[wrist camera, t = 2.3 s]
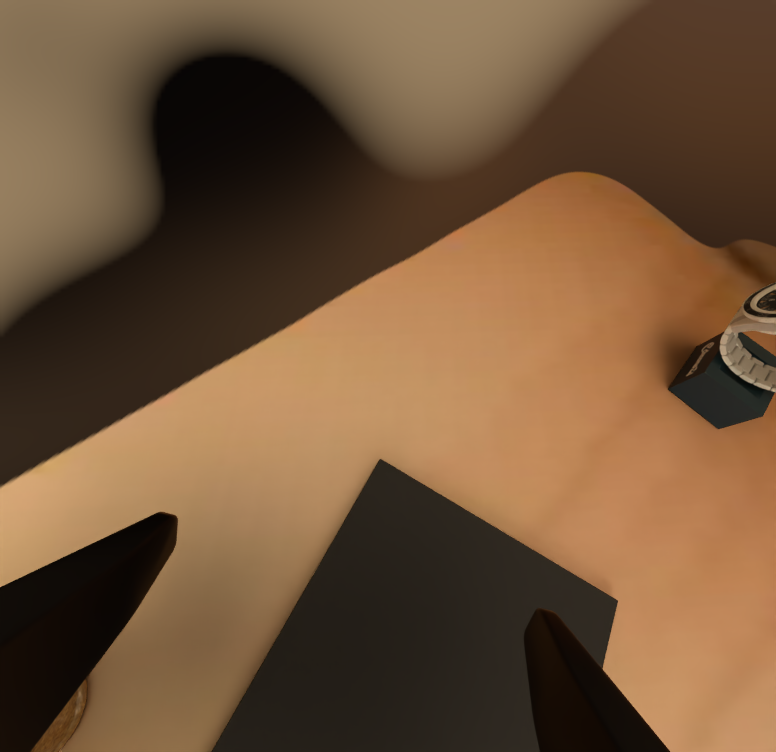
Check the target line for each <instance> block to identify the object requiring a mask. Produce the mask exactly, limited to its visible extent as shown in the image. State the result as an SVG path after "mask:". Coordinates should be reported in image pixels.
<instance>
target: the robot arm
mask: <svg viewBox="0 0 776 752" xmlns="http://www.w3.org/2000/svg"><path fill="white" fill-rule="evenodd" d="M177 526H178V518H177V516H175V515H172V514H168V513H165V512H158V513H156V514H154V515H151V516H149V517H147V518H145V519H143V520H141V521H139V522H137V523H135V524H133V525H130V526H128V527H126V528H124V529H122V530H120V531H118V532H116V533H114V534H111V535H109V536H107V537H105V538H103V539H101V540H99V541H97V542H95V543H93V544H90V545H88V546H86V547H84V548H82V549H80V550H78V551H76V552H74V553H71V554H69V555H67V556H65V557H63V558H61V559H59V560H57V561H55V562H53V563H50V564H48V565H46V566H44V567H42V568H40V569H38V570H36V571H34V572H31V573H29V574H27V575H25V576H23V577H21V578H19V579H17V580H15V581H12V582H10V583H8V584H6V585H4V586H2V587H0V752H31V751H32V749H33V748H34V747H35V745H36V744H37V743H38V742H39V740H40V739H41V738H42V736H43V735H44V734H45V732H46V731H47V730H48V728H49V727H50V726H51V724H52V723H53V722H54V720H55V719H56V718H57V716H58V715H59V714H60V712H61V711H62V710H63V708H64V707H65V706H66V704H67V703H68V702H69V700H70V699H71V698H72V696H73V695H74V694H75V692H76V691H77V690H78V688H79V687H80V686H81V684H82V683H83V682H84V680H85V679H86V678H87V676H88V675H89V674H90V672H91V671H92V670H93V668H94V667H95V666H96V664H97V663H98V662H99V660H100V659H101V658H102V656H103V655H104V654H105V652H106V651H107V650H108V648H109V647H110V646H111V644H112V643H113V642H114V640H115V639H116V638H117V636H118V635H119V634H120V632H121V631H122V630H123V628H124V627H125V626H126V624H127V623H128V622H129V620H130V619H131V617H132V616H133V614H134V613H135V611H136V610H137V608H138V607H139V605H140V604H141V602H142V600H143V599H144V597H145V595H146V594H147V592H148V591H149V589H150V587H151V586H152V584H153V583H154V581H155V579H156V578H157V576H158V575H159V573H160V571H161V570H162V568H163V566H164V565H165V563H166V562H167V560H168V558H169V557H170V555H171V554H172V552H173V550H174V548H175V545H176V541H177ZM524 647H525V656H526V664H527V673H528V681H529V690H530V698H531V706H532V713H533V720H534V725H535V730H536V735H537V740H538V745H539V750H540V752H670V751H669V750H668V748H667V747H666V746H665V745H664V743H663V742H662V741H661V740H660V739H659V737H658V736H657V735H656V734H655V733H654V731H653V730H652V729H651V728H650V726H649V725H648V724H647V723H646V722H645V720H644V719H643V718H642V717H641V715H640V714H639V713H638V712H637V711H636V709H635V708H634V707H633V706H632V705H631V703H630V702H629V701H628V700H627V698H626V697H625V696H624V695H623V694H622V692H621V691H620V690H619V689H618V688H617V686H616V685H615V684H614V683H613V681H612V680H611V679H610V678H609V677H608V675H607V674H606V673H605V672H604V671H603V669H602V668H601V667H600V666H599V664H598V663H597V662H596V661H595V660H594V658H593V657H592V656H591V655H590V653H589V652H588V651H587V650H586V649H585V647H584V646H583V645H582V644H581V643H580V641H579V640H578V639H577V638H576V636H575V635H574V634H573V633H572V632H571V630H570V629H569V628H568V627H567V626H566V624H565V623H564V622H563V621H562V619H561V618H560V617H559V616H558V615H557V614H556V613H555V612H553V611H550V610H546V609H543V608H538V609H536V610H535V612H534V614H533V615H532V617H531V619H530V621H529V623H528V625H527V627H526V629H525V632H524Z"/></svg>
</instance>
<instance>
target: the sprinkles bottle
mask: <svg viewBox="0 0 776 752" xmlns="http://www.w3.org/2000/svg"><path fill="white" fill-rule="evenodd" d="M86 696H87V682H86V680H84V682H83V683H82V684H81V686H80V687H79V688H78V690H77V691H76V692H75V694H74V695H73V696H72V698H71V699H70V700H69V702H68V703H67V704H66V706H65V707H64V708H63V710H62V711H61V712H60V714H59V715H58V716H57V718H56V719H55V720H54V722H53V723H52V724H51V726H50V727H49V728H48V730H47V731H46V732H45V734H44V735H43V736H42V738H41V739H40V740H39V742H38V743H37V744H36V745H35V747H34V748H33V749H32V751H31V752H58V751H59V750H60V749H61V748H62V747H63V746H64V745H65V743H66V742H67V740H68V739H69V738H70V736H71V735H72V734H73V732H74V730H75V728H76V726H77V724H78V723H79V721H80V719H81V715H82V712H83V710H84V707H85V703H86V700H87V699H86Z"/></svg>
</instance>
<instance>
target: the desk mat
mask: <svg viewBox="0 0 776 752" xmlns="http://www.w3.org/2000/svg"><path fill="white" fill-rule="evenodd" d="M617 603H618V601H617V600H616V599H614V598H613V597H611V596H609V595H608V594H606V593H604V592H602V591H601V590H599V589H597V588H596V587H594V586H592V585H591V584H589V583H587V582H586V581H584V580H582V579H581V578H579V577H577V576H576V575H574V574H572V573H571V572H569V571H567V570H566V569H564V568H562V567H561V566H559V565H557V564H556V563H554V562H552V561H551V560H549V559H547V558H546V557H544V556H542V555H541V554H539V553H537V552H536V551H534V550H532V549H530V548H529V547H527V546H525V545H524V544H522V543H520V542H519V541H517V540H515V539H514V538H512V537H510V536H509V535H507V534H505V533H504V532H502V531H500V530H499V529H497V528H495V527H494V526H492V525H490V524H489V523H487V522H485V521H484V520H482V519H480V518H479V517H477V516H475V515H474V514H472V513H470V512H469V511H467V510H465V509H464V508H462V507H460V506H459V505H457V504H455V503H453V502H452V501H450V500H448V499H447V498H445V497H443V496H442V495H440V494H438V493H437V492H435V491H433V490H432V489H430V488H428V487H427V486H425V485H423V484H422V483H420V482H418V481H417V480H415V479H413V478H412V477H410V476H408V475H407V474H405V473H403V472H402V471H400V470H398V469H397V468H395V467H393V466H392V465H390V464H388V463H387V462H385V461H383V460H381V459H380V460H379V462H378V464H377V465H376V467H375V469H374V471H373V472H372V474H371V476H370V478H369V479H368V481H367V483H366V484H365V486H364V488H363V490H362V491H361V493H360V495H359V497H358V498H357V500H356V502H355V504H354V505H353V507H352V509H351V511H350V512H349V514H348V516H347V517H346V519H345V521H344V523H343V524H342V526H341V528H340V530H339V531H338V533H337V535H336V537H335V538H334V540H333V542H332V544H331V545H330V547H329V549H328V550H327V552H326V554H325V556H324V557H323V559H322V561H321V563H320V564H319V566H318V568H317V570H316V571H315V573H314V575H313V577H312V578H311V580H310V582H309V583H308V585H307V587H306V589H305V590H304V592H303V594H302V596H301V597H300V599H299V601H298V603H297V604H296V606H295V608H294V610H293V611H292V613H291V615H290V616H289V618H288V620H287V622H286V623H285V625H284V627H283V629H282V630H281V632H280V634H279V636H278V637H277V639H276V641H275V643H274V644H273V646H272V648H271V649H270V651H269V653H268V655H267V656H266V658H265V660H264V662H263V663H262V665H261V667H260V669H259V670H258V672H257V674H256V676H255V677H254V679H253V681H252V682H251V684H250V686H249V688H248V689H247V691H246V693H245V695H244V696H243V698H242V700H241V702H240V703H239V705H238V707H237V709H236V710H235V712H234V714H233V715H232V717H231V719H230V721H229V722H228V724H227V726H226V728H225V729H224V731H223V733H222V735H221V736H220V738H219V740H218V742H217V743H216V745H215V747H214V748H213V750H212V752H540V750H539V745H538V740H537V735H536V730H535V725H534V720H533V713H532V706H531V698H530V690H529V681H528V673H527V664H526V656H525V647H524V632H525V629H526V627H527V625H528V623H529V621H530V619H531V617H532V615H533V614H534V612H535V610H536V609H538V608H543V609H546V610H550V611H553V612H555V613H556V614H557V615H558V616H559V617H560V618H561V619H562V621H563V622H564V623H565V624H566V626H567V627H568V628H569V629H570V630H571V632H572V633H573V634H574V635H575V636H576V638H577V639H578V640H579V641H580V643H581V644H582V645H583V646H584V647H585V649H586V650H587V651H588V652H589V653H590V655H591V656H592V657H593V658H594V660H595V661H596V662H597V663H598V664H599V666H600V667H601V668H602V667H603V663H604V659H605V654H606V650H607V646H608V641H609V637H610V633H611V628H612V624H613V620H614V616H615V611H616V607H617Z"/></svg>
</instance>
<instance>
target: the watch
mask: <svg viewBox="0 0 776 752" xmlns="http://www.w3.org/2000/svg"><path fill="white" fill-rule="evenodd" d="M746 331H759V332H762V333H768V334H774V335H776V282H775V283H773V284H770V285H768V286H766V287H764V288H762V289H760V290H758V291H756V292H755V293H753V294H752V295H750V296H749V297H748V298H747V299H746V300H745V301H744V302H743V304H742V306H741V307H740V309H739V310H738V312H737V313H736V314H735V316H734V317H733V319H732V320H731V322H730V323H729V325H728V327H727V328H726V330H725V332H723V333H721V334H719V335H717V336H715V337H713V338H712V339H710V340H708V341H706V342H704V343H702V344H700V345H699V346H697V347H696V348H695V350H694V351H693V353H692V354H691V356H690V357H689V359H688V360H687V361H686V363H685V364H684V366H683V367H682V369H681V370H680V372H679V373H678V375H677V376H676V378H675V379H674V381H673V382H672V384H671V385H670V387H669V388H668V390H670V391H671V392H672V393H673V394H675V395H676V396H677V397H678V398H680V399H681V400H682V401H684V402H685V403H686V404H687V405H689V406H690V407H691V408H692V409H694V410H695V411H696V412H697V413H699V414H700V415H701V416H703V417H704V418H705V419H706V420H708V421H709V422H710V423H711V424H713V425H714V426H715V427H717V428H718V429H721V428H724V427H728V426H731V425H734V424H738V423H741V422H745V421H748V420H752V419H755V418H759V417H762V416H763V415H764V413H765V411H766V409H767V407H768V405H769V403H770V401H771V399H772V397H773V395H774V393H775V392H776V356H774V355H773V354H771V353H770V352H769V351H767V350H766V349H764V348H763V347H762V346H760V345H759V344H757V343H756V342H755V341H753V340H752V339H750V338H749V337H748V336H746V335H745V334H743V333H742V332H746Z"/></svg>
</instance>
